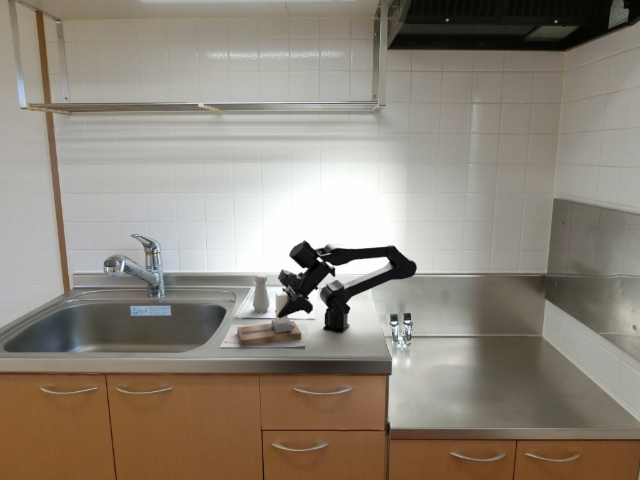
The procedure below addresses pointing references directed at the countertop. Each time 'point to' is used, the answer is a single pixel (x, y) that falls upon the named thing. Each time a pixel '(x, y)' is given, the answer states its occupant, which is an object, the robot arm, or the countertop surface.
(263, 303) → the salt shaker
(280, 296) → the fader tab
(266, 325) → the brown slider track board
